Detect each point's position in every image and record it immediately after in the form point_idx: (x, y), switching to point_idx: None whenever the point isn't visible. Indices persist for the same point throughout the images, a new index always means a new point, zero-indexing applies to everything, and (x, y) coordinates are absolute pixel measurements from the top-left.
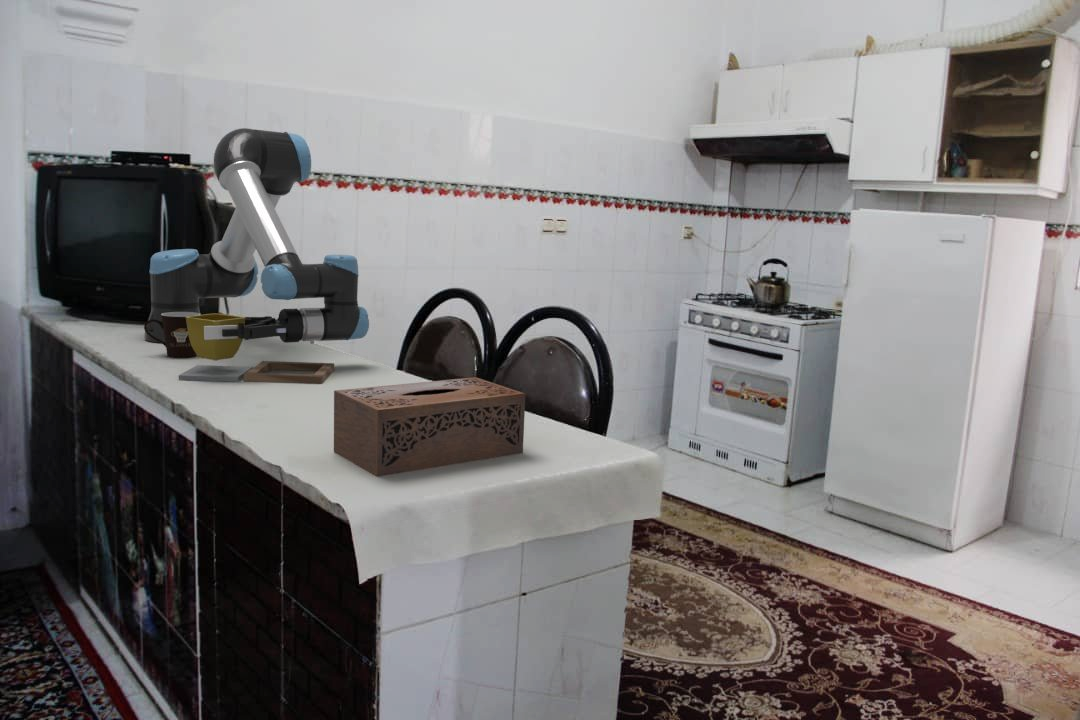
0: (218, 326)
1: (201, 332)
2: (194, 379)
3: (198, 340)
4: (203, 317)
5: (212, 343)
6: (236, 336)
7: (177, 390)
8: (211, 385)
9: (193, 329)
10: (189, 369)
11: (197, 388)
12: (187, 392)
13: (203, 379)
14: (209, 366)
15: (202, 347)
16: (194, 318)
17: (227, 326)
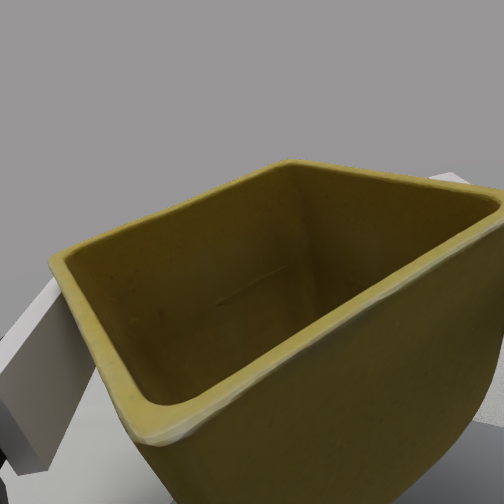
0: (38, 296)
1: (208, 277)
2: None
3: (248, 308)
4: (379, 194)
5: (153, 366)
6: (16, 456)
7: (102, 390)
8: (107, 492)
9: (257, 242)
10: None
11: (90, 441)
12: None
13: None
14: (479, 490)
15: (244, 352)
16: (225, 184)
17: (9, 336)
